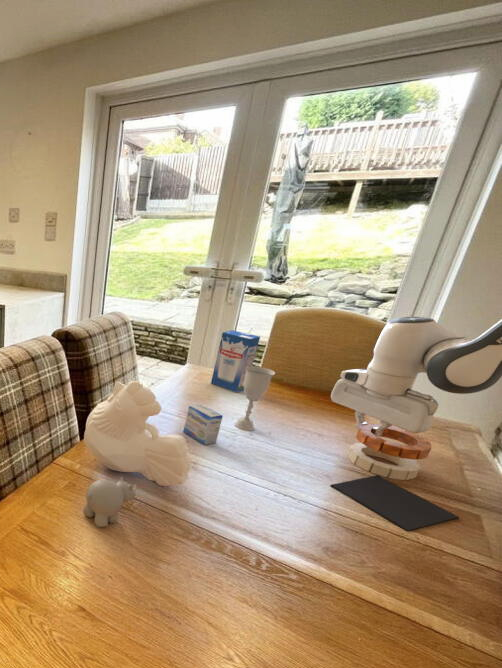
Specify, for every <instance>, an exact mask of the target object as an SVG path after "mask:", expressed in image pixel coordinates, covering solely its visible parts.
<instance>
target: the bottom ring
mask: <svg viewBox="0 0 502 668" xmlns="http://www.w3.org/2000/svg"><path fill="white" fill-rule="evenodd" d="M370 456H371V457H370ZM346 457H347V459H348V460H349V461H350V462H351V463H352V464H354V465H355V466H357V467H358V468H361V469H363V470H365V471H366V472H370V473H371V474H374V475H379V476H381V477H383V478H387V477H388V478H389V479H394V480H400V481H408V480H413V479H416V478H417V476H418V474H419V472H420V470H421V465H420V463H419V462H418V460H417V459H415V460H414V459H406V458H400V457H399V456H398V457H395V456H391V455H388V454H384V453H381V451H376V450H373V449H371V448H369V447H367V446H365V444H362V443H361V442H355V443H352V444H350V447H349V450H348V452H347V455H346ZM372 457H377V458H380V459H383V460H387V461H389V462H392V463H394V464H388V463H385V462H381V461H378V460H376V459H373V458H372ZM395 464H396V465H395Z"/></svg>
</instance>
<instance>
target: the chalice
mask: <svg viewBox="0 0 502 668" xmlns="http://www.w3.org/2000/svg"><path fill="white" fill-rule="evenodd" d="M246 371H247V372H246V376H245V380H244V390H243V391H244V394H245V397H246V399H247V400H249V401H248V404H246V406H247V408H246V410H245V416H243V417H240V418H239V419H238V420H237V421H236V422H234V426H235V425H236V426H237V428H238V429H240V428H241V430H242V431H249V432H250V431H254V430H255V425H254V421H253V420H252V419H251V418H250V416H251V414H253V412H252V409H253V408H254V402H257V401H259V400H260V399H261V398H262V397H263V396H264V395H265V394H266V393H267V392H268V390H269V388H270V384H271V381H272V378H273V377H274V375H275V374H276V372H275V371H274V370H272V369H270V368H266V367H263V366H256V365H252V366H247V367H246ZM236 426H235V427H236Z"/></svg>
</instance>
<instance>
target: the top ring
mask: <svg viewBox="0 0 502 668" xmlns="http://www.w3.org/2000/svg"><path fill="white" fill-rule="evenodd" d="M380 426H382V425H381V424H380V423H379V424H378V423H368V424H365V425H361V426H360V428H358V430H357V433H356V436H355V438H356V440H357V441H358V442H359V443H362V444H365V446H367V447H369V448H371V449H373V450H376V451H381V453H384V454H388V455H391V456H395V457H398V456H399V457H400V458H406V459H414V460H416V461H419V460H423V459H424V460H425V459H427V458H428V456H429V454H430V452H431V451H432V443H431V442H430V441H429V440H427V439H425V438H424V437H423V436H420V435H419V434H417V433H412V432H409V431H407V430H404V429H402V428H399V427H396V426H390V427H388V428H387V429H385V430H384V431H383V433H382V435H381V436H375V435H374V434H373V433H371V431H372V428H376V427H380ZM383 438H387V439H390V440H394V441H398V442H400V444H399V443H396V442H393V441H388V440H386V439H383ZM401 443H402V444H401Z"/></svg>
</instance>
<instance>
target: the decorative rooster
mask: <svg viewBox="0 0 502 668" xmlns="http://www.w3.org/2000/svg"><path fill="white" fill-rule="evenodd" d="M161 412H162V405H161V404H160V402H159V401H158V400H157V396H156V395H155V393H154V392H153V391H152V390H151V389H150V388H149V387H147V386H144V384H142V383H141V382H140V381H137V380H132V381H130V382H128V384H124V383H122V382H120V381H116V382H115V384H114V386H113V392H112V394H111V395H110V396H108V398H107V400H104V401H102V402H98V403H97V405H96V406H95V407H94V408H93V409H92V411H90V413H89V414H88V416H87V419H86V423H85V431H84V434H83V441H84V445H85V447H86V449H87V450H88V452H89V453H90V455H91V456H92V457H93V458H94V460H95V461H96V462H98V463H99V464H100V465H102V466H103V467H104V468H105V467H106V468H107V469H110V470H112V471H116V472H123V473H140V474H141V475H142V476H143V477H145V478H146V479H147V480H149V481H151V482H153V481H155V483H156V484H158V485H159V486H162V487H165V486H166V487H167V486H168V487H169V486H177V485H182V484H184V483H186V482H187V479H188V478H189V475H188V474H189V472H190V471H191V467H192V460H191V457H190V455H189V451H190V449H189V448H190V447H189V445H188V444H187V440H186V439H185V438H184V437H183V436H182V435H180V434H167V435H166V434H165V435H160V431H159V429H158V427H157V426H156V425H155V424H153V423H151V422H147V421H148V419H149V417H154V416H158V415H159V414H160V413H161Z"/></svg>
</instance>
